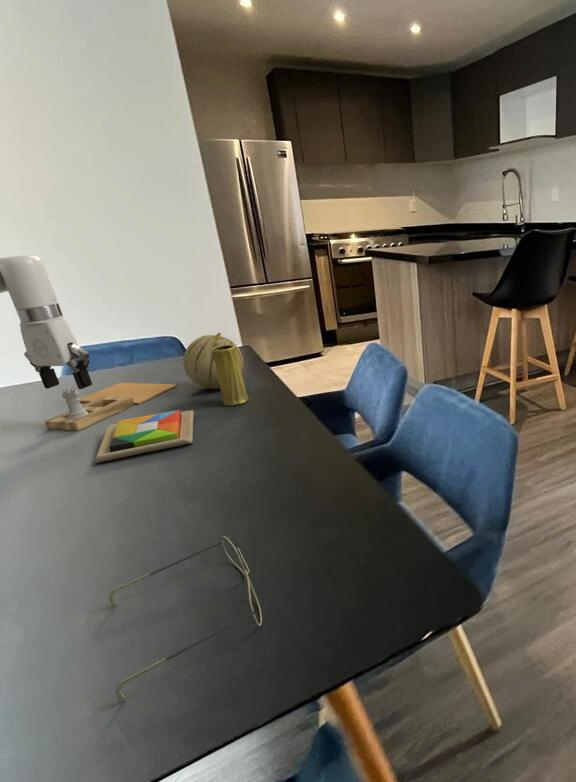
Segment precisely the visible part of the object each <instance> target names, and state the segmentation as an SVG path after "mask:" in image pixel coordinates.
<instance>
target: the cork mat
mask: <svg viewBox="0 0 576 782" xmlns="http://www.w3.org/2000/svg"><path fill="white" fill-rule="evenodd" d="M176 387H178V384H174V383H137V382H119V383H118V382H117V383H115V384H113V385H111V386H108V387H106V388H103V389H101V390H98V391H96V392H94V393H91V394H89V395H87V396H84V397H82V398H79V399H80V400H79V401H80V403H89V402H91V401H93V400H96V399H98V398H101V397H103V396H111V397H132V398H133V401H134V405H141V404H143V403H145V402H148V401H149V400H152V399H153V398H155V397H157V396H160V395H162V394H165V393H166V392H169V391H170V390H172V389H174V388H176Z"/></svg>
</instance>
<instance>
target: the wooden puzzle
mask: <svg viewBox="0 0 576 782" xmlns="http://www.w3.org/2000/svg"><path fill="white" fill-rule="evenodd" d="M194 414H195V411H194V410H193V409H191V410H185V411H181V410H180V409H179V410H178V409H177V410H171V411H166V412H160V413H154V414H150V415H149V414H148V415H144V416H138V417H133V418H127V419H121V420H118V421H117V423H115V424H109V425H107V426H106V428H105V431H104V434H103V437H102V439H101V443H100V445H99V448H98V450H97V453H96V456H95V457H94V459H93V462H94V463H95V464H99V463H102V462H108V461H113V460H117V459H122V458H127V457H131V456H135V455H142V454H146V453H151V452H155V451H156V452H157V451H161V450H166V449H171V448H175V447H181V446H186V445H190V444H193V441H194V440H193V439H194Z"/></svg>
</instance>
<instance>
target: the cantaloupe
mask: <svg viewBox="0 0 576 782" xmlns="http://www.w3.org/2000/svg"><path fill="white" fill-rule="evenodd" d="M222 345H234V346H235V351H236V355H237V359H238V363H239V366H240V370H241V373H243V369H244V357H243V354H242V352H241V350H240V348H239V347H238V346H237V344H236V343H235V342H234V341H232V340H231V339H229V338H228V337H225V336H222V333H221V332H217V334H215V335H214V334H205V335H202V336H200V337H198V338H196V339H195V340H193V341H191V343H190V344H189V345H188V346H187V347H186V349H185V352H184V354H183V359H182V364H183V370H184V372H185V374H186V376H187V378H189V379H190V380H191V381H192V382H193V383H194V384H195V385H197V386H200V387H203V388H206V389H210V390H220V383H219V379H218V374H217V369H216V365H215V361H214V357H213V354H212V348H214V347H217V346H222Z"/></svg>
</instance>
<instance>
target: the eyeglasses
mask: <svg viewBox="0 0 576 782" xmlns="http://www.w3.org/2000/svg"><path fill="white" fill-rule="evenodd" d="M223 539H225V540H226V541H227V542H228V543H229V544H230V546H231V547H232V548H233V550H234V552H235V554H236V556H237V558H238V561H239V563H240V565H241V566H239V565H237V563H236V562H235V561H234V560H233V559H232V558H231V557H230V555H229V553H228V551H227V549H226V547H225V544H224V541H223ZM220 545H221V546H222V548H223V550H224V552H225V555H226V557H227V558H228V559H229V561H230V562H231V563H232V564H233V565H234V566H235V567H236V568H237V569H238V570H239V571H240V572H241V574H243V575H244V580H246V582H247V593H248V602H249V606H250V611H251V612H250V613H248V614H246V615H244V616H243V617H240V618H239V619H237V620H234V621H233V622H231V623H230V624H228V625H226V626H224V627H222V628H220V629H218V630H216V631H215V632H212V633H210V634H208V635H207V636H205V637H203V638H201V639H199V640H198V641H195V642H194V643H191V644H190V645H188V646H185V647H184V648H182V649H181V650H179V651H177V652H175V653H173V654H171V655H170V656H167V657H164V658H163V659H161V660H158V661H157V662H155V663H153V664H152V665H151V664H150V665H149V666H148V667H145V668H143V669H142V670H140V671H138V672H136V673H134V674H133V675H131V676H129V677H127V678H125V679H124V680H122V681H121V682H120V683H118V685H117V686H116V689H115V697H116V698H117V700H118V703H120V704H121V703H124V702H125V701H126V697H125V696H124V695H123V694H122V693H123V692H121V689H122V687H123V686H125V684H127V683H129V682H131V681H132V680H135V679H136V678H138V677H140V676H142V675H144V674H145V673H148V672H149V671H151V670H153V669H156V668H157V667H159V666H161V665H163V664H165V663H166V662H168V661H170V660H171V659H173V658H175V657H177V656H178V655H181V654H183V653H185V652H186V651H189V650H190V649H192V648H194V647H196V646H198V645H199V644H202V643H203V642H205V641H207V640H209V639H211V638H212V637H214V636H216V635H218V634H220V633H222V632H224V631H225V630H227V629H229V628H231V627H233V626H235V625H237V624H238V623H240V622H242V621H245V620H246V619H247V618H250V617H252V616H253V619H254V621H255V623H256V625H257V627H261V626H262V623H263V614H262V609H261V605H260V602H259V599H258V597H257V593H256V592H255V590H254V587H253V584H252V582H251V579H250V577H249V573H250V572H251V570H250V568H249V567H248V564H247V562H246V561H245V557H244V556H243V554H242V552H241V550H240V548H239V547H235V545H234V544H233V542H232V541H231V540H230V539H229V538H228V537H227V536H225V535H222V536H221V537H220V541H219V542H217V543H215V544H212V545H210V546H208V547H205V548H204V549H201V550H199V551H197V552H194V553H192V554H190V555H188V556H185V557H183V558H181V559H179V560H177V561H174V562H173V563H169V564H168V565H165V566H163V567H161V568H159V569H156V570H154V571H152V572H150V573H147V574H145V575H142V576H140V577H138V578H135V579H133V580H131V581H129V582H127V583H125V584H122V585H120V586H118V587H115V588H114V589H113V590H111V592H110V593H109V595H108V601H109V603H110V605H111V607H112V608H114V607H117V606H118V604H117V602H116V601H115V599H114V594H115V593H116V592H118V591H121V590H122V589H125V588H127V587H130V586H132V585H135V584H136V583H138V582H140V581H143V580H145V579H147V578H149V577H151V576H153V575H156V574H158V573H160V572H162V571H164V570H167V569H169V568H171V567H173V566H176V565H178V564H180V563H182V562H185V561H187V560H189V559H191V558H193V557H196V556H198V555H200V554H203V553H205V552H206V551H209V550H211V549H213V548H216V547H217V546H220ZM241 558H242V559H241ZM244 565H245V566H244ZM245 567H246V569H245ZM251 591H252V593H253V596H254V598H255V601H256V604H257V608H258V611H259V621H258V619H257V616H256V612H255V610H254V606H253V604H252V603H253V602H252V596H251Z"/></svg>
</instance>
